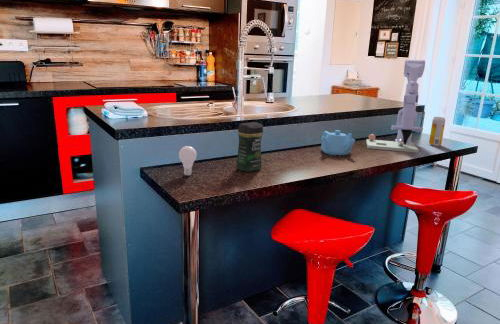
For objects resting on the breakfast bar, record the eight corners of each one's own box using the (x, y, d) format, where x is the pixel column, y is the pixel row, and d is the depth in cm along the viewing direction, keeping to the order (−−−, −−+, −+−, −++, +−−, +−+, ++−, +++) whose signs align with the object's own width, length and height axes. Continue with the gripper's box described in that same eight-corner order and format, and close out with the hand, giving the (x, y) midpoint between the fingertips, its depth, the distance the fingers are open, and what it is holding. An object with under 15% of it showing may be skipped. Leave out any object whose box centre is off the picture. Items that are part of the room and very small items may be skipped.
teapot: (351, 150, 190) (354, 128, 187) (353, 157, 175) (356, 134, 173) (320, 148, 192) (322, 126, 190) (319, 155, 178) (321, 132, 175)
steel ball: (397, 145, 199) (396, 139, 198) (405, 143, 198) (403, 137, 197) (398, 147, 195) (397, 141, 195) (405, 145, 194) (404, 139, 194)
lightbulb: (179, 172, 144) (179, 144, 141) (197, 173, 144) (197, 144, 141) (178, 178, 138) (177, 148, 135) (196, 178, 138) (196, 148, 135)
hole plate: (366, 141, 210) (366, 139, 210) (413, 145, 205) (413, 143, 204) (367, 148, 195) (367, 145, 195) (418, 152, 190) (418, 149, 189)
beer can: (438, 144, 211) (443, 116, 207) (442, 146, 205) (447, 118, 201) (427, 143, 212) (431, 116, 208) (431, 146, 206) (435, 118, 202)
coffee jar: (246, 173, 146) (248, 125, 141) (233, 169, 151) (234, 122, 146) (264, 169, 152) (267, 122, 147) (251, 165, 158) (252, 119, 153)
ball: (368, 139, 209) (368, 133, 208) (374, 140, 208) (375, 133, 207) (368, 140, 206) (369, 134, 205) (375, 141, 205) (375, 134, 204)
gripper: (393, 117, 190) (390, 144, 194) (425, 119, 187) (421, 147, 190) (392, 116, 197) (388, 142, 200) (422, 118, 194) (418, 144, 197)
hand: (404, 144), depth 196 cm, fingers closed, pressing on steel ball
